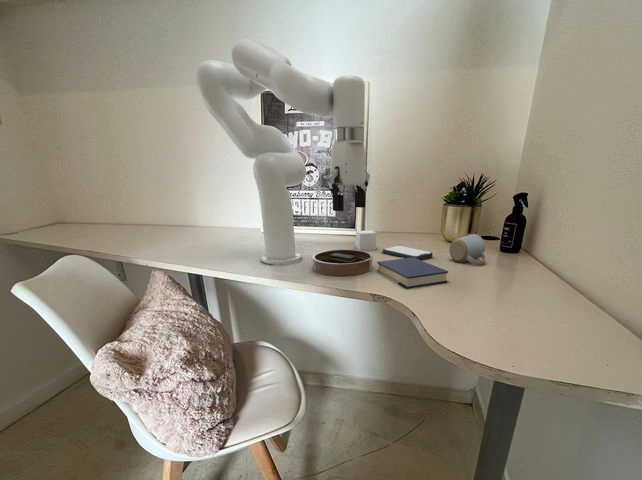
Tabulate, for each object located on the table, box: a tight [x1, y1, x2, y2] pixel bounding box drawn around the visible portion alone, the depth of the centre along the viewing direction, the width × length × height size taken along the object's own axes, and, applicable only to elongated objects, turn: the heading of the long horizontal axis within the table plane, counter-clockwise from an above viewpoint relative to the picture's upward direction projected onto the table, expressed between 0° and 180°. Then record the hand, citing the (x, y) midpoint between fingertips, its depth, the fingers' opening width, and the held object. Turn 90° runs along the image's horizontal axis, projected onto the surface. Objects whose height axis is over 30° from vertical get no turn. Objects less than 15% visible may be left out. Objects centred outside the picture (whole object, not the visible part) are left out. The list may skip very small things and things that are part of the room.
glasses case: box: [330, 253, 356, 264], centre depth 96 cm, size 7×3×4 cm, turn 52°
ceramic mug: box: [448, 233, 487, 266], centre depth 101 cm, size 11×8×8 cm
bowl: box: [312, 248, 374, 277], centre depth 97 cm, size 17×17×4 cm
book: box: [376, 257, 449, 289], centre depth 89 cm, size 16×12×3 cm
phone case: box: [382, 245, 434, 260], centre depth 112 cm, size 9×2×16 cm
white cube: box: [355, 229, 377, 251], centre depth 121 cm, size 6×6×6 cm
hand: (349, 209), depth 90 cm, fingers open, 9 cm apart
